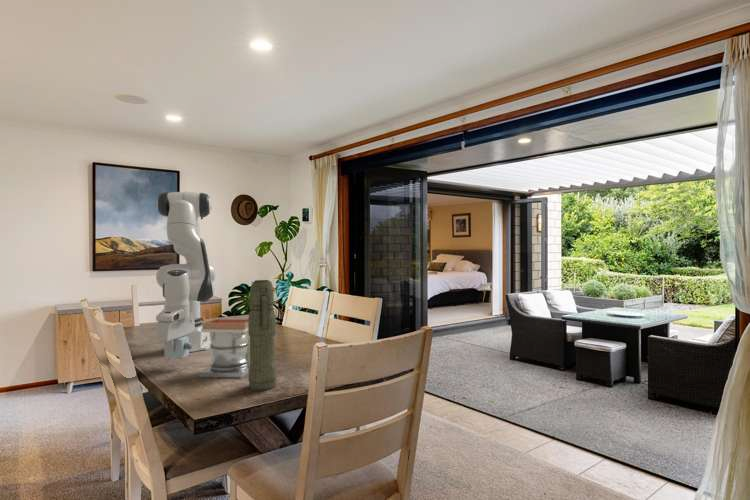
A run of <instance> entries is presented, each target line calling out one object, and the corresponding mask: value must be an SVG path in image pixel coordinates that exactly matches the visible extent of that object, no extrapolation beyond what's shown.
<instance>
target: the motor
mask: <svg viewBox="0 0 750 500" xmlns="http://www.w3.org/2000/svg"><path fill="white" fill-rule="evenodd" d="M201 332H209V333H210V341H211V344H210V348H209V349H210V360H211V362H210V363H211V364H210V365H209V366H208V367H205V368H204V369H201V371H199V372H198V378H199V377H200V378H202V377H203V378H234V379H235V378H236V379H237V378H238V379H242V378H243V377H245V376H246V375H249V365H250V361H249V346H250V340H249V332H248V319H247V318H214V319H211V320H208V321H204V322H202V329H201Z"/></svg>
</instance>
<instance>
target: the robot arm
mask: <svg viewBox="0 0 750 500" xmlns="http://www.w3.org/2000/svg"><path fill="white" fill-rule="evenodd" d="M212 207H213V203H212V200H211V197H210V195H208V193H204V192H193V191H175V192H173V191H172V192H169V191H166V192H161V193H160V194H159V195H158V196H157V199H156V209H157V210H158V213H159V214H160V215H161V216H163V217H167V222H166V235H167V239H168V241H169V242H170V244H171V245H173V250H174V252H175V253H176V254H178V255H179V256H182V257H183V258H184V259H185V262H186V263H171V264H167V265H162V266H160V267H159V269H158V270H157V271H156V275H155V278H156V283H157V285H158V286H159V287H160V288H162V297H163V298H164V299H165V300H164V305H163V307H164V308H162V310H161V311H160V312H159V313H158V314H157V315H156V316H155V321H156V322H157V323H156V329H155V330H156V341H157V342H158V343H167V345H168V347H169V351H170V352H173V351H175V346H174V344H173V343H174V339H177V338H180V337H182V336H184V337H189V343H192V348H191V349H189V353H193V352H199V351H208V350H209V349H211V348H210V344H211V332H201V329H202V323H203V322H205V319H206V318H205V317H204V316H203V317H202V316H201V302H205V303H206V302H207V301H209V300H211V298H213V297H214V295H215V285H214V281H215V279H216V275H217V273H216V270H215V268H214V266H212V265H211V264H210V263H209V262H210V261H209V258H208V257H209V256H208V253H207V247H206V244H205V241H204V239H203V238H201V228H200V227H201V226H200V220H203V218H207V216H208V215H210V213H211V211H212ZM199 218H200V220H199Z"/></svg>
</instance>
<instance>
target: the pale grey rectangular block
mask: <svg viewBox="0 0 750 500" xmlns="http://www.w3.org/2000/svg"><path fill="white" fill-rule="evenodd" d="M173 344H174V346H175V351H173V352H170V351H169V347H168V345H167V343H164V346H163V347H164V351H163V352H164V354H163V355H164V358H170V359H172V358H173V359H183V358H185V357H187V356H189V355H190V352H189V349H191V348H192V343H189V337H184V336H182V337H180V338H177V339H174V343H173Z"/></svg>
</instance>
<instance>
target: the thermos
mask: <svg viewBox="0 0 750 500" xmlns="http://www.w3.org/2000/svg"><path fill="white" fill-rule="evenodd" d="M274 290H275V289H274V286H273V283H272V281H270V280H269V279H256V280H254V281H253V282H251V286H250V289H249V305H250V309H249V311H250V312H249V315H248V337H249V355H250V356H249V357H250V358H249V362H250V365H249V373H248V381H249V386H248V388H249V389H250V390H251V391H259V392H260V391H268V390H272V389H275V388H277V387H276V386H277V381H276V380H277V364H276V362H275V358H276V357H275V349H276V348H275V347H276V346H275V344H276V343H275V335H276V332H277V322H276V321H277V317H276V313H275V308H274V304H275V299H274V298H275V295H274V293H275V291H274Z"/></svg>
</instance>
